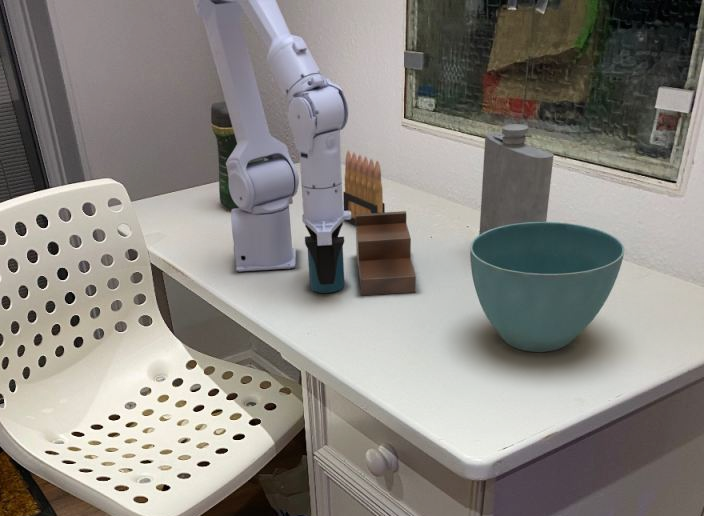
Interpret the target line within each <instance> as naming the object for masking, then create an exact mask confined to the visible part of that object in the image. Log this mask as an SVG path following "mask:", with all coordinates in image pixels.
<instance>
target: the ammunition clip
mask: <svg viewBox="0 0 704 516" xmlns="http://www.w3.org/2000/svg"><path fill="white" fill-rule="evenodd" d="M344 165H345V166H344V191H342V199H343V211H351V219H350V220H344V221H343V222H346V223H348V224H350V225H353V226H355V227H356V219H355V214H369V213H385V212H386V211H385V209H386V207H385V206H386V205H385V203H384V202H383V198H384V197H383V191H384V190H383V183H382V171H381V165H380V162H379V160H376V162H375V163H374V160H373V158H370V160H368V158H367V156H364V158H363V157H362V155H361V154H359V155H358V157H357V154H356V152H353V153H352V155H351V152H350V150H349V149H348V150H347V151H346V155H345V164H344Z"/></svg>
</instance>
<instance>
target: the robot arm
mask: <svg viewBox="0 0 704 516" xmlns="http://www.w3.org/2000/svg"><path fill="white" fill-rule="evenodd" d="M192 4H193V7H194V11H195V14H196V15H197V16H198V17H200V18H202V21H203V26H204V29H205V33H206V36H207V40H208V43H209V46H210V47H209V48H210V50H211V54H212V57H213V63H214V64H215V65H214V66H215V68H216V72H217V76H218V80H219V82H220V86H221V87H220V88H221V90H222V93H223V98H224V101H226V105H227V109H228V112H229V116H230V119H231V123H232V127H233V130H234V134H235V137H236V141H237V146H236V147H235V149H234V150H233V152H232V153H231V155H230V157H229V158H228V160H227V162H226V166H227V171H228V178H229V191H230V194H231V197H232V199H233V201H234V203H235V204H236V205H237V206H238V207H239V208H234V209H231V212H230V220H231V235H232V242H233V255H234V257H235V265H236V272H255V271H269V270H285V269H294V268H295V269H296V261H297V258H296V257H297V249H296V247H293V239H292V227H291V215H290V214H291V213H290V205H292V204H293V203H294V202H293V200H294V199H293V197H295V196H296V194H297V193H298V189H299V184H300V183H301V184H300V185H301V194H302V195H301V197H302V211H303V213H302V216H301V218H302V223H303V224H304V227H305V228H306V230H307V232H308V234H309V235H307V236H304V245H305V246H306V249H307V251H308V250H309V252H310V253H311V255H312V258H313V260H314V264H315V268H316V272H317V276H318V280H319V282H320V284H321V285H323V284H334V281H335V276H336V268H337V261H338V256H339V253H340V251H341V248H342V246H343V247H344V244H345V236H339V235H340V231H341V229H342V226H343V224H344V222H345V221H344V220H350V219H351V211H344V199H343V177H342V176H343V174H342V151H341V150H342V149H341V131H342V130H344V128H346V125H347V123H348V120H349V106H348V105H349V104H348V101H347V98H346V95H345V92H344V90H343V89H342V87H340V86H339V85H338V84H336V83H333V82H332V81H331V79H330V78H328V77H324V75H323V74H322V71H321V69H320V68H319V66H318V64H317V62H316V61H315V58H314V56H313V55H312V53H311V51H310V49H309V47H308V45H307V44H306V41H305V40H304V39H303V37H301V36H299V35H293V34H292V33H291V31H290V29H289V27H288V25H287V22H286V20H285V18H284V15H283V13H282V11H281V9H280V7H279V4H278V1H277V0H192ZM243 13H245V15H246V16H247V18H248V19H249V21H250V22H251V24H252V26H253V27H254V29H255V31H256V32H257V33H258V35H259V37H260V38H261V39H262V42H263V43H264V44H265V45H266V47H267V49H268V52H267V55H266V56H267V57H266V65H267V67H268V69H269V70H270V73H271V74H272V76H273V78H274V79H275V82H276V84H277V85H278V87H279V89H280V91H281V93H282V95H283V96H284V98H285V101H286V102H287V104H288V112H287V113H286V116H287V121H288V125H289V127H290V130H291V132H292V135H293V140H294V147H295V149H296V151H297V152H299V153H298V154H299V155H298V156H299V166H300V167H299V170H300V178H299V173H298V170H297V167H296V165H295V164H294V162H293V160H292V158H291V155H290V152H289V150H288V147H287V145H286V144H285V143H283V142H282V141H280V140H279V139H277V138H275V137H274V136H272V135H271V132H270V129H269V126H268V121H267V117H266V114H265V110H264V106H263V102H262V98H261V94H260V91H259V86H258V82H257V79H256V76H255V71H254V67H253V64H252V60H251V56H250V52H249V49H248V46H247V41H246V37H245V34H244V29H243V26H242V17H243ZM262 158H264V159H265V161H263V162H259V163H255V164H251V165H247V164H248V162H250V161H254V160H258V159H262Z"/></svg>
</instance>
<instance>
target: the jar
mask: <svg viewBox="0 0 704 516" xmlns="http://www.w3.org/2000/svg"><path fill="white" fill-rule="evenodd" d="M307 261H308V263H307V264H308V276H309V287H310V290H312V291H313V292H316V293H321V294H328V293H329V294H330V293H336V292H338V291H341V290H342V289H343V288H344V287H345V270H344V269H345V267H344V266H345V265H344V245H343V246H342V248H341V251H340V253H339V256H338V261H337V268H336V276H335V281H334V284H323V285H321V284H320V282H319V280H318V276H317V272H316V268H315V264H314V260H313V258H312V255H311V253H310V252H309V250H308V249H307Z"/></svg>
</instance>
